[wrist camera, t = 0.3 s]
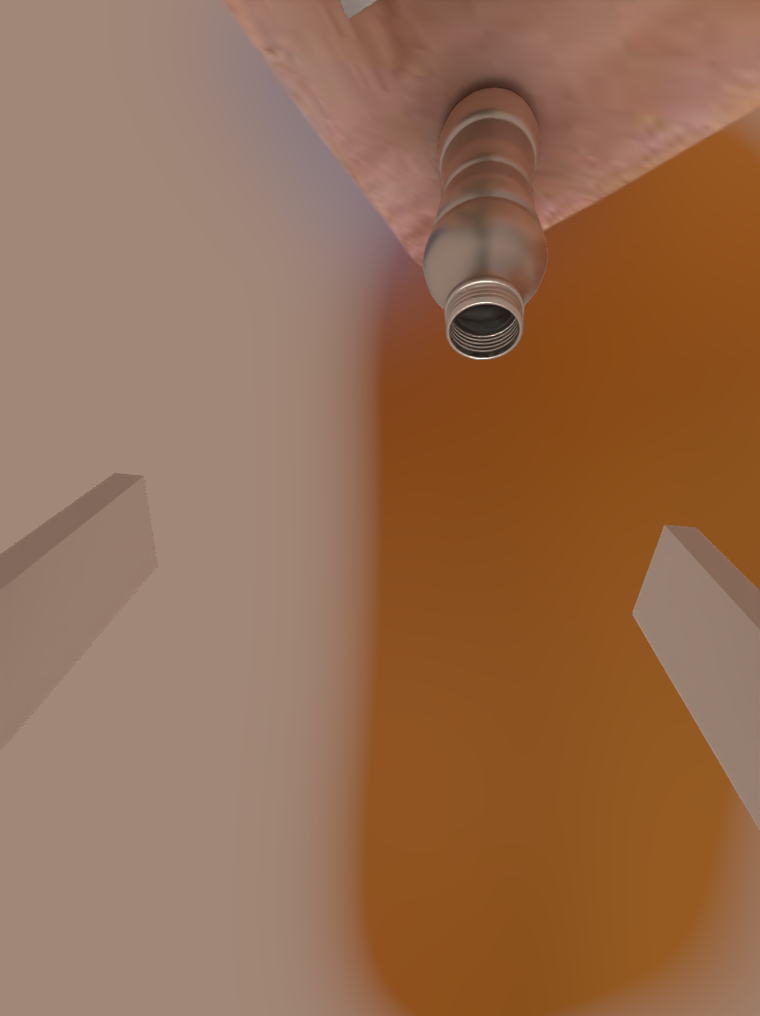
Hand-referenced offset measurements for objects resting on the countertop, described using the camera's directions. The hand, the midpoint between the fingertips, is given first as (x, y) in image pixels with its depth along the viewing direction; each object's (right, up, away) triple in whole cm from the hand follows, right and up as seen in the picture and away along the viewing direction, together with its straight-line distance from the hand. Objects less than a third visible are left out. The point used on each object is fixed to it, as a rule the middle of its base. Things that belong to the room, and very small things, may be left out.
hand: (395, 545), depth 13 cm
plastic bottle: (+7, +27, +22) cm, 35 cm away
